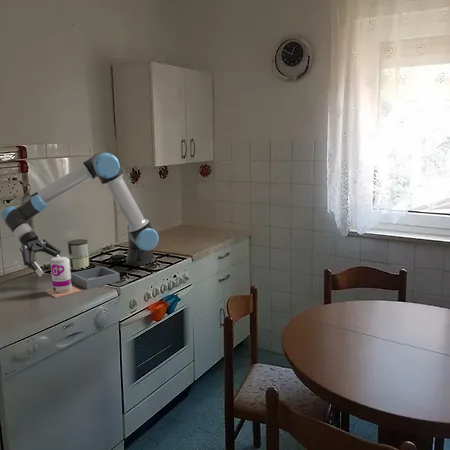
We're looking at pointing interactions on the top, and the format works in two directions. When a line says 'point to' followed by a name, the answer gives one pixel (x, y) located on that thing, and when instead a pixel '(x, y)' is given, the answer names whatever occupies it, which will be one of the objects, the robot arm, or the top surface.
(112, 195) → the robot arm
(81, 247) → the coffee can
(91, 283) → the parts tub
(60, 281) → the supplement can
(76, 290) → the terracotta tile
